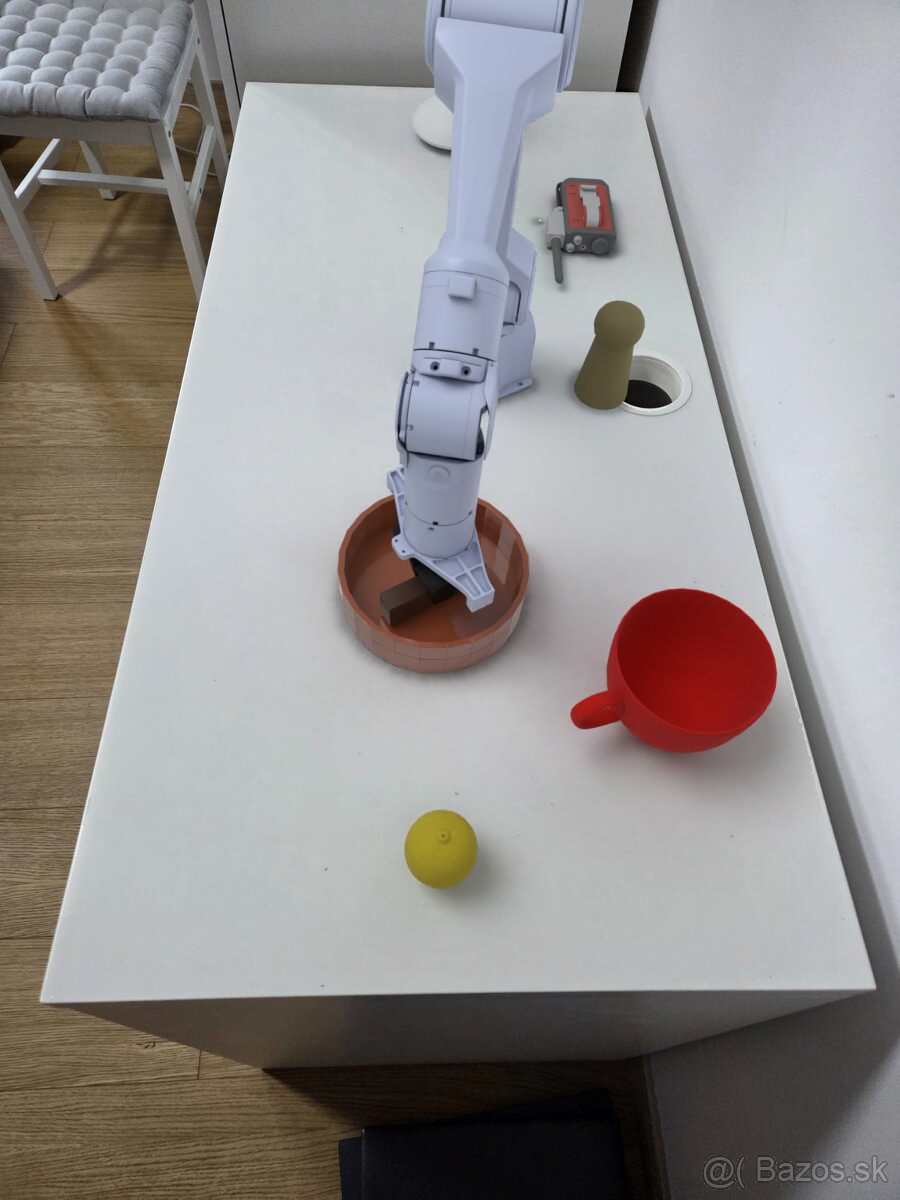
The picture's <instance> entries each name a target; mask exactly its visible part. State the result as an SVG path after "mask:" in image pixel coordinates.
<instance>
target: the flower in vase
mask: <svg viewBox="0 0 900 1200" xmlns="http://www.w3.org/2000/svg"><path fill="white" fill-rule="evenodd" d="M453 117H454V114H453V113H452V112H451V111H450V110H449V109H448V108H447V107H446V106H445V105H444V104H443V103H442V101H441V100H440V99H439V98H438V97H437V96H436V94H435V93H434V94H432V95H431V96H429V98H427V99H425V100H424V101H423V102H422V103H421V104H420V105H419V106H418V107H417V108H416V110H415V112H414V114H413V116H412V120H411V121H412V122H411V124H412V128H413V130H414V131H415V133H416V135H417V136H418V137H419V139H421V140H422V141H424V142H425V143H426V144H428V145H430V146H433V147H436V148H438V149H443V150H450V151H451V150H452V133H453Z"/></svg>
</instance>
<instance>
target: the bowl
mask: <svg viewBox="0 0 900 1200" xmlns="http://www.w3.org/2000/svg"><path fill="white" fill-rule="evenodd" d="M398 523H399V520H398V514H397V509H396V503H395V498H394V494H393V493H391V494H390V495H387V496H386V497H383V498H380V499H378V500H377V501H375V502H374V503H372V504H371V505H369V507H367V508H366V509H365V510H363V511H362V512H361V513H359V515H358V516H357V517H356V518H355V520H354V521H353V522H352V524H351V525H350V526H349V527H348V528H347V530H346V531H345V534H344V537H343V540H342V542H341V545H340V546H339V549H338V556H337V558H338V560H337V579H338V588H339V595H340V600H341V604H342V610H343V613H344V617H345V619H346V621H347V623H348V626H349V628H350V630H351V631H352V633H353V634H354V635H355V637H356V639H358V641H359V642H360V643H361V644H362V645H363V647H365V648H366V649H367V650H369V652H371V653H372V654H373V655H374V656H376V657H378V658H380V659H381V660H383V661H384V662H386V663H388V664H391V665H393V666H394V667H398V668H400V669H404V670H407V671H412V672H418V673H425V674H426V673H428V674H442V673H449V672H456V671H459V670H462V669H466V668H470V667H472V666H474V665H476V664H479V663H481V662H482V661H484V660H485V659H487V658H489V657H490V656H492V655H493V654H494V653H496V652H497V651H499V649H500V648H501V647H502V646H503V645H504V644H505V643H506V642H507V640H508V639H509V637H511V634H512V633H513V631H514V630H515V628H516V625H517V624H518V622H519V621H520V620H519V619H520V616H521V612H522V608H523V604H524V600H525V597H526V592H527V588H528V585H529V580H530V577H531V575H530V561H529V560H530V559H529V553H528V550H527V547H526V546H525V542H524V540H523V537H522V535H521V534H520V532H519V531H518V530H517V528H516V527H515V526H514V524H513V523H512V521H511V520H510V519H509V517H508V516H506V515H505V514H504V513H502V511H500V510H499V509H498V508H496V507H495V506H494V505H493V504H491V503H490V502H488V501H487V500H485V499H482V498H480V497H478V500H477V508H476V515H475V523H474V524H475V528H476V532H477V536H478V540H479V544H480V549H481V553H482V557H483V561H484V562H485V564H486V569H485V570H486V573H487V576H488V579H489V581H490V583H491V585H492V586H493V588H494V590H495V593H494V598H493V602H492V603H491V604H489V605H487V606H485V607H483V608H481V609H478V610H476V611H474V612H471V610H470V609H469V608H468V606H467V604H466V602H467V597H466V596H465V595H464V594H463V593H462V592H461V593H459V594H456V595H454V596H452V597H451V598H449V599H446V600H444V601H442V602H440V603H438V604H436V605H433V606H431V607H429V608H427V609H425V610H423V611H421V612H419V613H417V614H415V615H412V616H410V617H408V618H406V619H404V620H402V621H400V622H398V623H396V624H394V625H391V626H390V625H389V623H388V622H387V620H386V619H385V617H384V615H383V614H382V612H381V610H380V595H379V593H381V592H383V591H385V590H387V589H389V588H392V587H394V586H396V585H398V584H400V583H402V582H405V581H407V580H409V579H411V578H413V577H415V575H414V572H413V570H412V567H411V564H410V561H409V559H406V560H402V559H400V558H399V557H398V555H397V554H396V552H395V550H394V549H393V547H392V539H393V538H394V536H393V534H392V530H393V527H394V526H395V525H396V524H398Z"/></svg>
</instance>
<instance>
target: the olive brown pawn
mask: <svg viewBox="0 0 900 1200" xmlns="http://www.w3.org/2000/svg"><path fill="white" fill-rule="evenodd" d="M645 321H646V320H645V316H644V314H643V312H642V310H641V309H640V308H639V306H637V305H636V304H634V303H632V302H629V301H625V300H611V301H609V302H607V303H605V304H603V306H601V307H600V308H599V309H598V311H597V313H596V315H595V317H594V320H593V332H594V335H595V336H594V337H593V341H592V343H591V345H590V347H589V349H588V352H587V354H586V356H585V358H584V361H583V363H582V366H581V368H580V370H579V372H578V375H577V377H576V379H575V382H574V384H573V392H574V394H575V396H576V398H577V399H578V400H579V401H580V402H581V403H582V404H584V405H586V406H587V407H590V408H592V409H595V410H601V411H602V410H603V411H605V410H612V409H616V408H617V407H619V406H621V405H622V404H623V403H624V402H625V401H626V397H627V394H628V389H629V388H628V387H629V383H630V382H629V381H630V375H631V368H632V361H633V354H634V349H635V345H636V344H637V343H639V341H640V339H641V338H642V336H643V334H644V331H645V328H646V322H645Z"/></svg>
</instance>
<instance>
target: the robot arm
mask: <svg viewBox="0 0 900 1200" xmlns="http://www.w3.org/2000/svg"><path fill="white" fill-rule="evenodd" d="M584 5H585V0H427V1H426V11H425V24H424V58H425V59H424V60H425V64H426V65H427V67H428V68H429V70H430V72H431V75H433V85H434V87H433V88H434V94H436V96H437V97H438V98H439V99H440V100H441V101H442V103H443V104H444V105H445V106H446V107H447V108H448V109H449V110H450V111H451V112H452V113H453V114H454V117H453V133H452V150H450V151H451V153H450V170H449V184H448V185H449V186H448V200H447V218H446V231H444V232H443V234H442V237H441V238H440V239H439V242H438V245H437V250H435V251H434V252H433V253H432V254H431V255H430V256H429V257H428V258H427V259H426V260H425V262H424V265H423V273H422V278H421V286H420V293H419V300H418V301H419V303H418V309H417V315H416V322H415V323H416V324H415V330H414V331H415V332H414V338H413V345H412V353H411V361H410V369H409V371H410V373H409V371H407V370H405V371H404V373H403V374H402V378H401V380H400V384H399V387H398V393H397V399H396V405H395V415H394V416H395V417H394V434H395V444H396V445H395V446H396V450H397V452H398V454H399V465H400V466H399V467H397V468H393V469H391V470H389V471H386V487H387V489H388V490H389V492H390V493H391V494H394V498H395V503H396V509H397V514H398V520H399V523H398V524H396V525H395V526H394V527H393V530H392V534H393V536H394V538H393V539H392V547H393V549H394V550H395V552H396V554H397V555H398V557H399V558H400V559H402V560H406V559H409V561H410V564H411V567H412V570H413V572H414V575H415V576H418V575H419V576H420V578H421V579H422V581H423V582H424V584H425V585H426V586H427V593H428V596H429V598H430V600H431V601H432V603H433V604H434V605H436V604H438V603H440V602H442V601H444V600H446V599H449V598H451V597H452V596H453V594H454V593H455V591H456V589H459V590H460V591H461V592H462V593H463V594H464V595H465V596H466V597H467V602H466V604H467V606H468V608H469V609H470V610H471V612H474V611H476V610H478V609H481V608H483V607H485V606H487V605H489V604H491V603H492V602H493V598H494V593H495V590H494V588H493V586H492V585H491V583H490V581H489V579H488V576H487V573H486V570H485V565H484V561H483V557H482V553H481V549H480V544H479V540H478V536H477V532H476V528H475V524H474V523H475V515H476V508H477V500H478V498H479V491H480V485H481V478H482V471H483V470H482V469H483V463H484V462H486V460H487V457H488V455H489V452H490V451H491V447H492V440H493V434H494V428H495V421H496V415H497V407H498V400H499V399H502V398H505V397H506V396H510V395H512V394H515V393H516V392H520V391H522V390H525V389H527V388H529V387H532V385H533V380H532V378H530V371H531V366H532V360H533V355H534V348H535V344H536V339H537V338H536V337H537V331H536V329H537V328H536V324H535V319H534V316H533V314H532V311H531V310H530V308H531V303H532V296H533V292H534V291H533V290H534V284H535V277H536V270H537V266H536V263H537V257H538V256H537V255H538V253H537V251H536V245H535V243H533V241H532V240H530V239H528V238H527V237H525V235H523V234H521V233H520V232H519V231H518V230H516V229H515V228H513V225H514V224H513V223H514V216H515V207H516V200H517V192H518V186H519V179H520V178H519V177H520V169H521V162H522V154H523V147H524V139H525V131H526V126H528V125H531V124H532V123H533V122H535V121H537V120H539V119H540V118H542V117H544V116H546V115H549V113H551V112H552V111H554V108H555V103H556V96H557V95H556V94H558V93H559V94H561V93H562V92H563V91H564V89H566V88H567V87H569V85H570V84H571V82H572V78H573V77H572V76H573V72H574V67H575V60H576V54H577V49H578V43H579V37H580V31H581V24H582V18H583V11H584ZM486 413H488V422H487V423H488V424H487V430H486V436H485V435H484V432H483V429H482V426H481V424H482V418H483V415H484V414H486ZM485 437H486V438H485Z"/></svg>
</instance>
